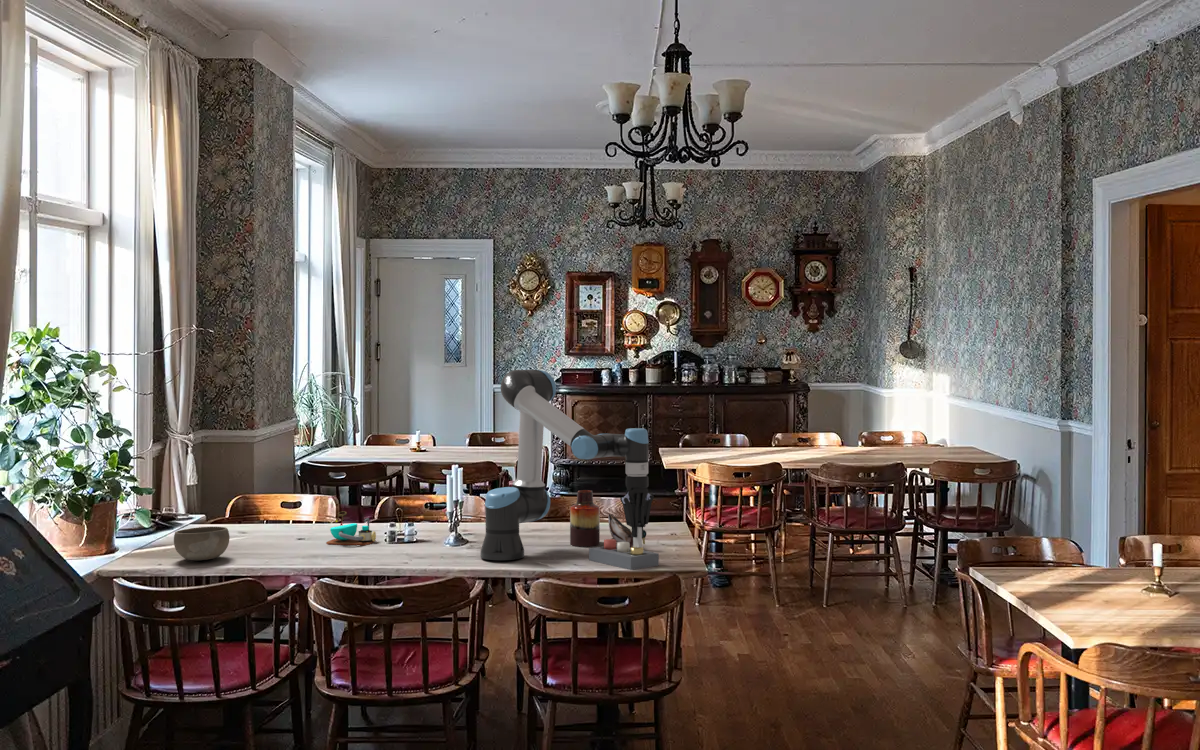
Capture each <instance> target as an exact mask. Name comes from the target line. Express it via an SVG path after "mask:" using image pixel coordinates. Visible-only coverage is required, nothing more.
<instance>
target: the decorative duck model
mask: <svg viewBox="0 0 1200 750" xmlns="http://www.w3.org/2000/svg"><path fill="white" fill-rule="evenodd" d="M607 519H608V526H609V533H610V535H611V537H612V538H611V539H615V540H616V545H617V542H629V543H630V548H631V547H633V537H632V529H630V528H629V527H628V526H627V525H624V524H623V523H622V522H621V521H620V520H619V519H618V518H617V517H616V516H615V515H614V514H610V513H609V514H608V518H607ZM646 537H647V530H645V529H643V536H642V545H646Z"/></svg>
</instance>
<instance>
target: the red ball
mask: <svg viewBox="0 0 1200 750" xmlns="http://www.w3.org/2000/svg"><path fill="white" fill-rule="evenodd" d="M616 543H617V542H616V540H615V539H612V538H607V539H606V538H605V539H604V540H603V546H604V549H607V550H613V549H616V545H617V544H616Z"/></svg>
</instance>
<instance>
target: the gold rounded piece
mask: <svg viewBox="0 0 1200 750" xmlns="http://www.w3.org/2000/svg"><path fill="white" fill-rule="evenodd" d="M643 550H644V546H642V547H639V548H638V547H631V555H635V556H638V555H643Z"/></svg>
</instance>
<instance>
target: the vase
mask: <svg viewBox="0 0 1200 750" xmlns="http://www.w3.org/2000/svg"><path fill="white" fill-rule="evenodd" d="M600 509H601V508H600V506H599V505H598V504H596V503H594V495H593V490H588V489H587V490H586V489H583V490H582V489H581V490H578V491H577V494H576V503H574V504H573V505H571V506H570V507H569V513H570V514H569V516H570V517H569V523H570V524H569V525H570V527H569V531H570V532H569V541H570V546H571V545H572V547H575V548H576V547H577V548H595V547H599V546H600V543H601V542H600V538H601V535H600V532H601V531H600V529H601V528H600V523H601V522H600V520H601V519H600V518H601V517H600V515H601V513H600V512H601V511H600Z"/></svg>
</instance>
